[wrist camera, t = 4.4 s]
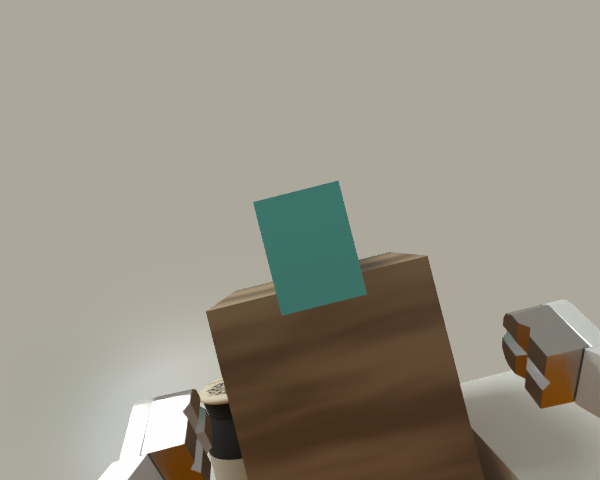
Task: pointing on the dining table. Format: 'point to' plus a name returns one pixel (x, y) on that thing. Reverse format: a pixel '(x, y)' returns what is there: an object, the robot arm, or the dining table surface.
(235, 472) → the travel mug
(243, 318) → the walnut stand
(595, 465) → the block
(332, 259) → the teal box
